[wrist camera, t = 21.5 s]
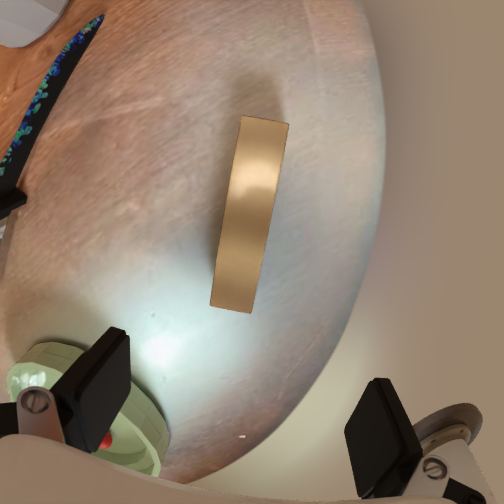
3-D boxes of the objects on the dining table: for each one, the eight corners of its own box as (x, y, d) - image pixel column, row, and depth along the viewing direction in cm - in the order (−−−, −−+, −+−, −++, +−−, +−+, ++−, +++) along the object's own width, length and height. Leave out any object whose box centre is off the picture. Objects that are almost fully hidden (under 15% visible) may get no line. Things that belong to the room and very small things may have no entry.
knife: (-4, 296, 24) (-29, 309, 20) (-19, 280, 24) (-43, 291, 19) (133, 35, 20) (116, 12, 15) (112, 25, 19) (93, 4, 15)
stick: (244, 121, 20) (241, 114, 17) (286, 129, 20) (289, 123, 17) (215, 289, 24) (209, 306, 21) (253, 296, 24) (251, 314, 21)
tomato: (109, 435, 27) (97, 420, 29) (94, 448, 25) (82, 432, 27) (120, 443, 29) (108, 428, 30) (105, 455, 27) (94, 440, 29)
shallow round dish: (206, 442, 29) (199, 475, 25) (107, 465, 33) (97, 488, 29) (76, 308, 25) (48, 332, 20) (9, 369, 29) (-10, 388, 24)
